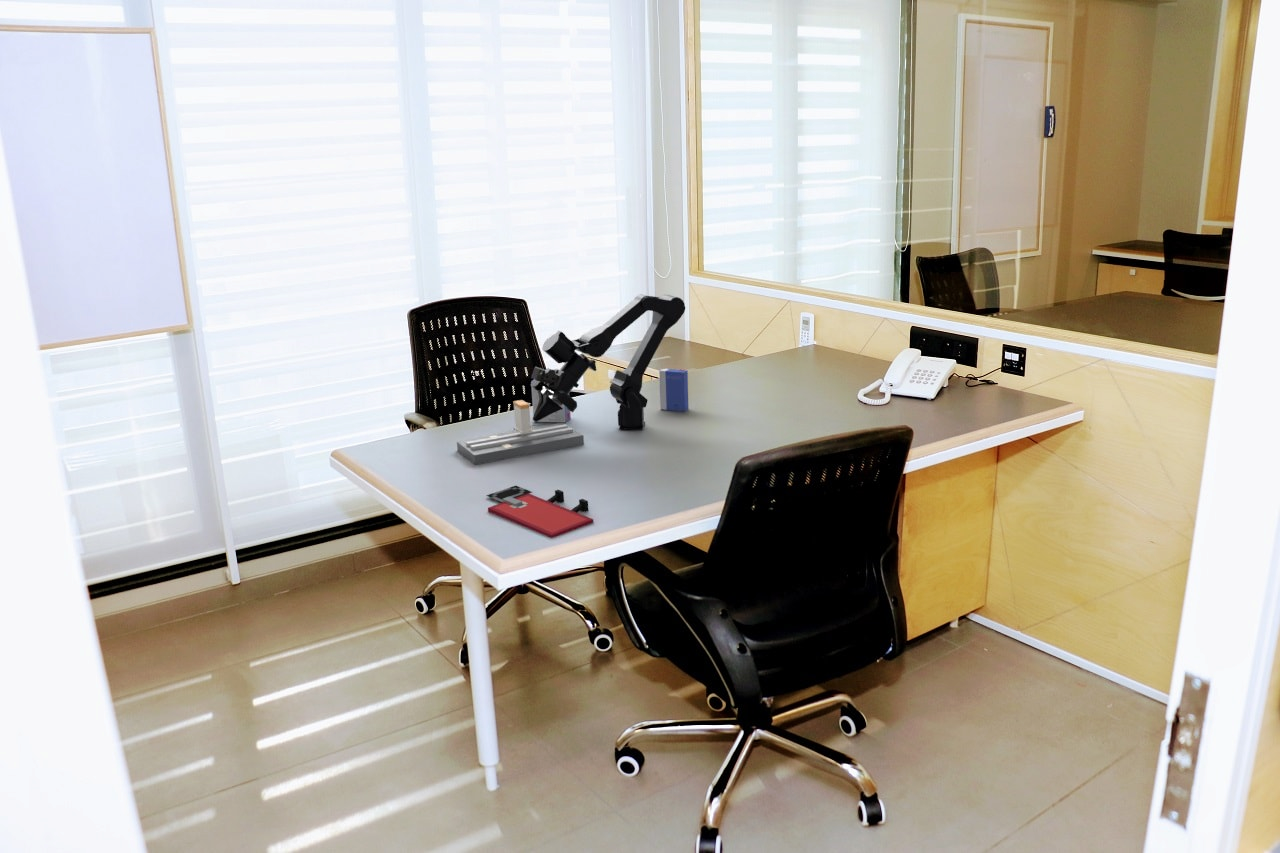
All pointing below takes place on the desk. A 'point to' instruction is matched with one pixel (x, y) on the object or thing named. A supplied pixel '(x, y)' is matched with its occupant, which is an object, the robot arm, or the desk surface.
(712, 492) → the desk surface
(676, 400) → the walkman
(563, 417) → the ink cartridge box
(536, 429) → the fader console
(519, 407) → the fader lever
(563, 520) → the red board with handle
